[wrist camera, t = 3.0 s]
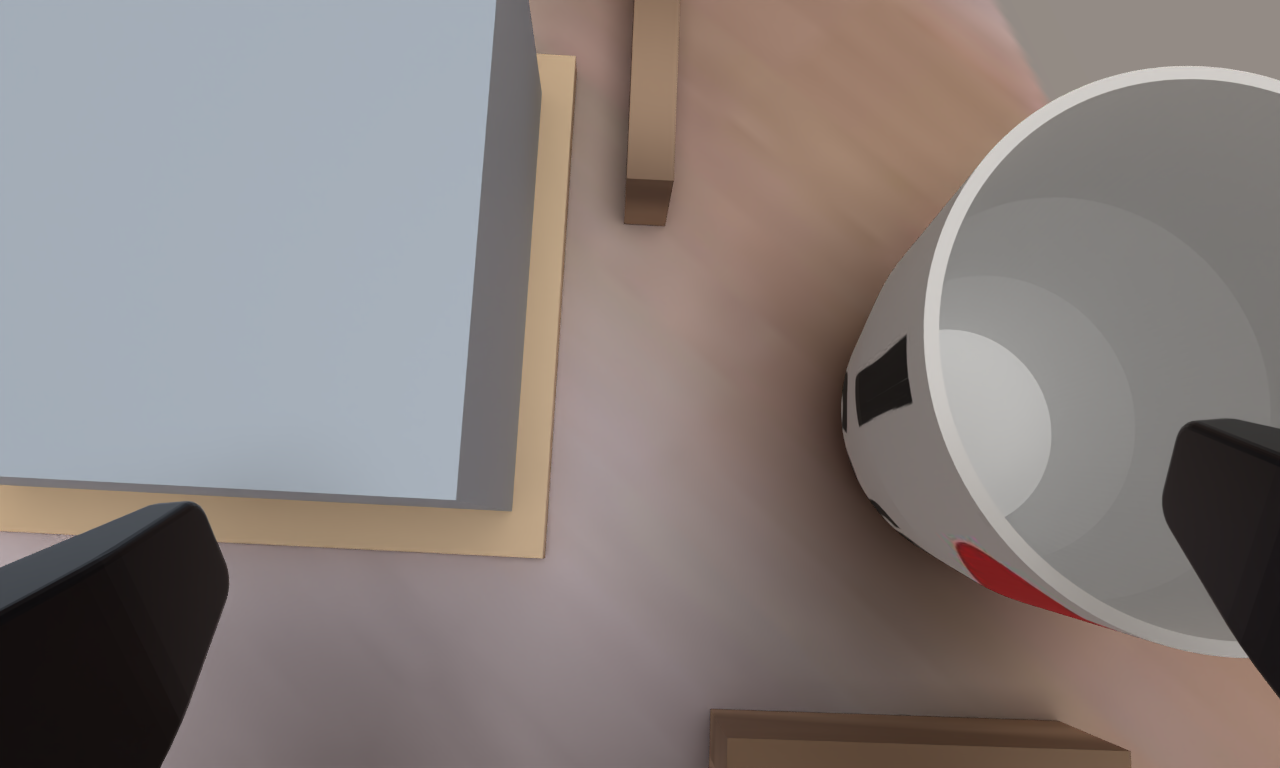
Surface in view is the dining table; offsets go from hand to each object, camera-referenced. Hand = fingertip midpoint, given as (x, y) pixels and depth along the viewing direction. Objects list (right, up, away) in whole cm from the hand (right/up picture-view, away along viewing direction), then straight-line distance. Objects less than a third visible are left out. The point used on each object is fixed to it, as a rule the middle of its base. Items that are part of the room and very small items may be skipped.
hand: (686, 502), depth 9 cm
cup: (+7, 0, +14) cm, 16 cm away
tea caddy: (-9, +3, +14) cm, 17 cm away
